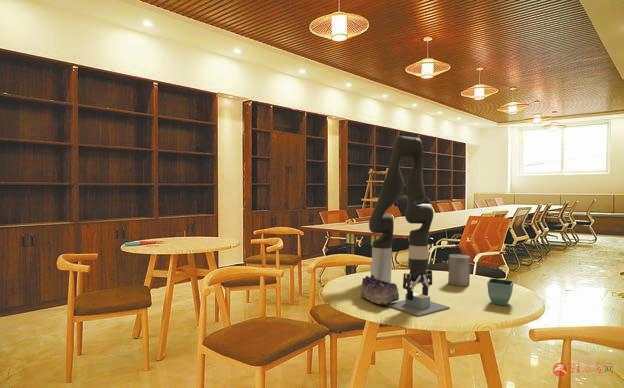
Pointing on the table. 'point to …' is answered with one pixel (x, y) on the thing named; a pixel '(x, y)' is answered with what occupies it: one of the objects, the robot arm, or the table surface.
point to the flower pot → (500, 291)
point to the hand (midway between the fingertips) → (417, 298)
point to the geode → (379, 291)
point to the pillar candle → (459, 270)
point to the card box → (418, 301)
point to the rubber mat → (416, 311)
